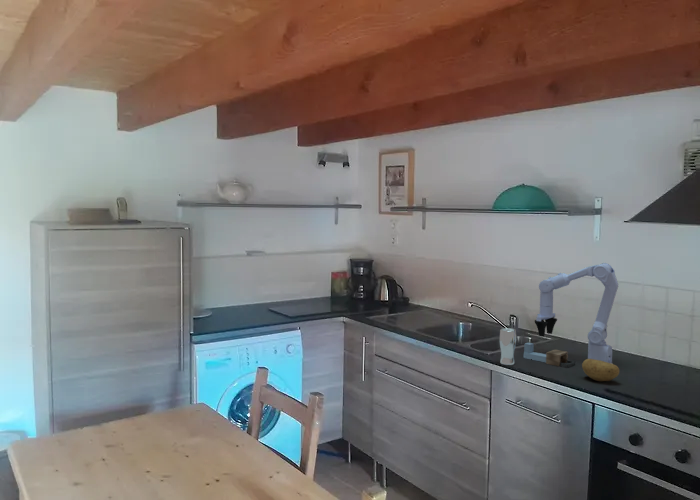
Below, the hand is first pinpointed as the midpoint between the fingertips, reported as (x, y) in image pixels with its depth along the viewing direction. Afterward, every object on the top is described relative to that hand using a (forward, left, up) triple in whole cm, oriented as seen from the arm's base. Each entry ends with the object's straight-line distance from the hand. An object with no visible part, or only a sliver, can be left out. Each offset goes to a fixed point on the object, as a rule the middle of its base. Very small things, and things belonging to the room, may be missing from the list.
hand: (545, 334), depth 267 cm
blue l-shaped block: (-1, +9, -10) cm, 13 cm away
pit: (-15, +9, -10) cm, 20 cm away
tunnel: (-10, +9, -10) cm, 17 cm away
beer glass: (+5, +25, -10) cm, 27 cm away
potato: (-34, +21, -10) cm, 41 cm away
